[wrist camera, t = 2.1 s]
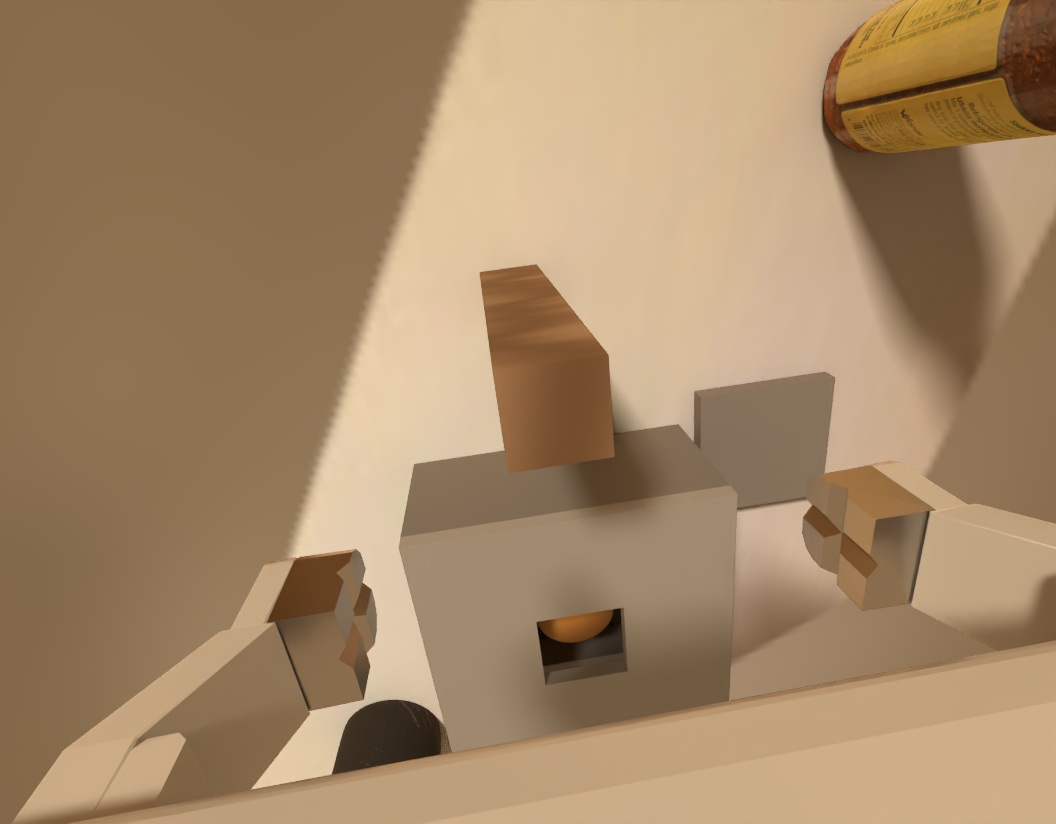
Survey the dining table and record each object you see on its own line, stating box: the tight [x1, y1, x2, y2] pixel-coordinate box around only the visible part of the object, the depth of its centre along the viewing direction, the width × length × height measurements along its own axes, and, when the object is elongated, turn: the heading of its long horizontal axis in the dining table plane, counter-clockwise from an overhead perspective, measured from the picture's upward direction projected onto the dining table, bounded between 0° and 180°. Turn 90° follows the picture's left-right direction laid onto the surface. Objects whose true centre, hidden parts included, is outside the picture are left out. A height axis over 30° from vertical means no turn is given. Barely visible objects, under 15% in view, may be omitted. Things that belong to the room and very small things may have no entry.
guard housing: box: [399, 425, 738, 752], centre depth 33 cm, size 16×16×8 cm
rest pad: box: [694, 372, 835, 508], centre depth 34 cm, size 8×8×1 cm
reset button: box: [537, 609, 613, 643], centre depth 32 cm, size 4×4×2 cm
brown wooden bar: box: [480, 265, 615, 473], centre depth 22 cm, size 3×3×16 cm
